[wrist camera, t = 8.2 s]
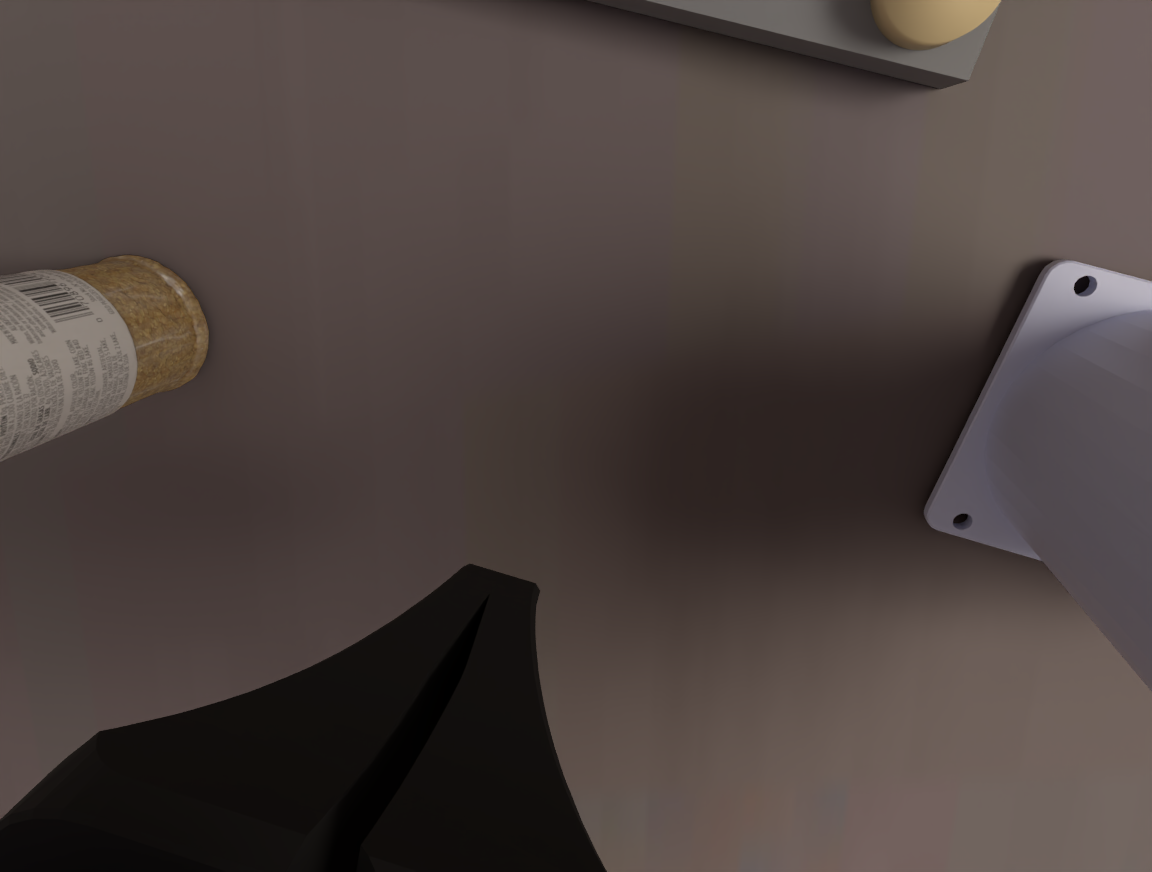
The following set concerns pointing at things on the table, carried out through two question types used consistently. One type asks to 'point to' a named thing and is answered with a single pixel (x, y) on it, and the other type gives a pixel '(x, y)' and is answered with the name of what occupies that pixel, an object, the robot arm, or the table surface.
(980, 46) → the levelling base
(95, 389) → the sprinkles bottle
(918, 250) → the table surface
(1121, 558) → the robot arm
